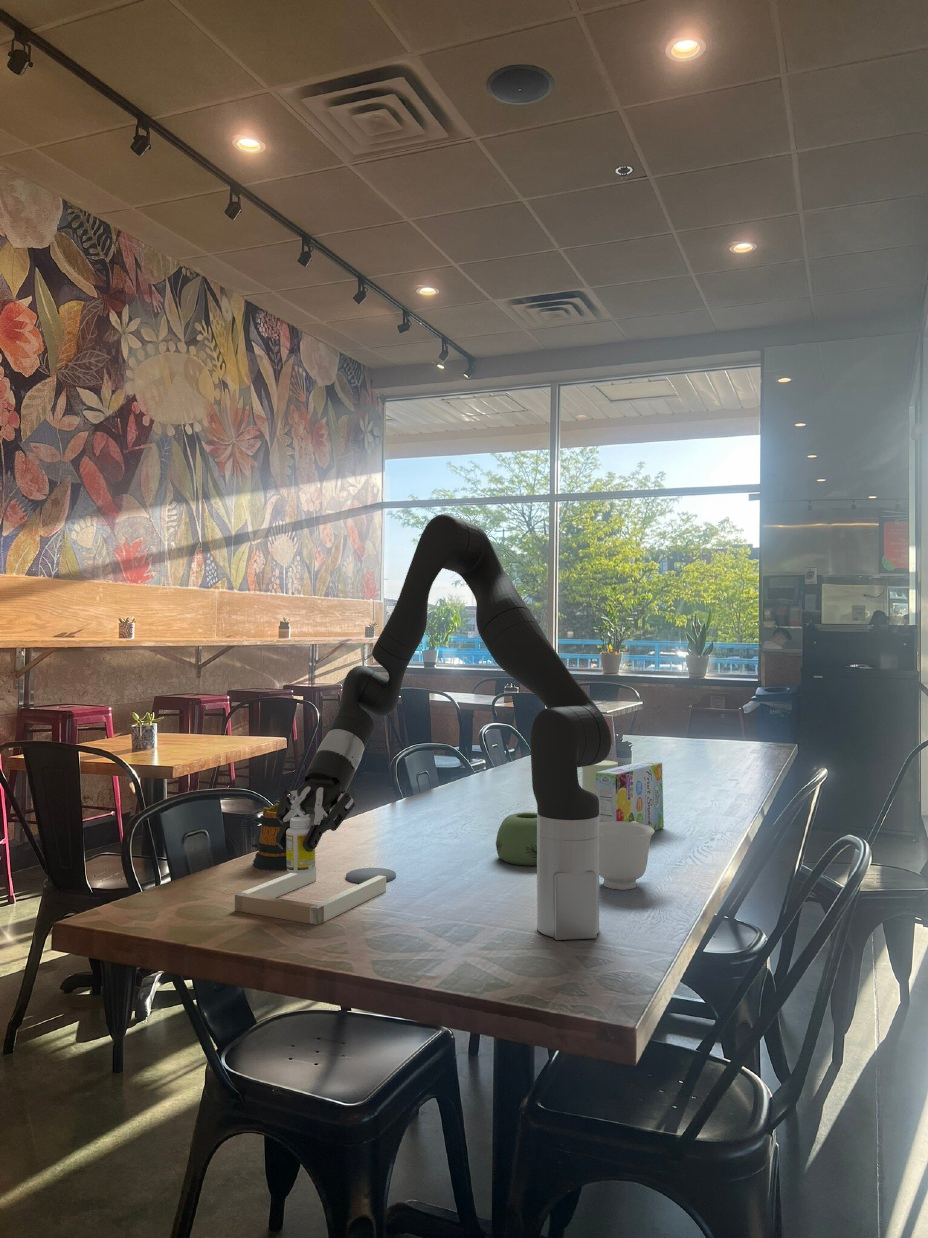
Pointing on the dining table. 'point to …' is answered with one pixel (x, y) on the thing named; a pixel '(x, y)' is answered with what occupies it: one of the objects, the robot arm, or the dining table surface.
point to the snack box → (632, 794)
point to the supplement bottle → (299, 847)
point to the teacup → (623, 853)
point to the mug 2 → (518, 839)
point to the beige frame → (267, 904)
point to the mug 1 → (269, 842)
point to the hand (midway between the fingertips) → (293, 847)
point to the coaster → (369, 874)
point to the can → (594, 774)
